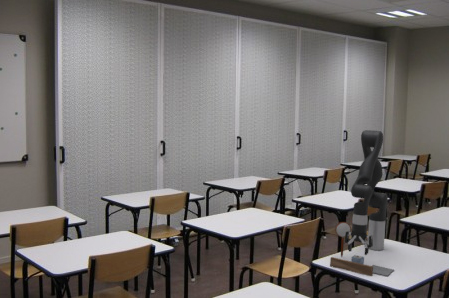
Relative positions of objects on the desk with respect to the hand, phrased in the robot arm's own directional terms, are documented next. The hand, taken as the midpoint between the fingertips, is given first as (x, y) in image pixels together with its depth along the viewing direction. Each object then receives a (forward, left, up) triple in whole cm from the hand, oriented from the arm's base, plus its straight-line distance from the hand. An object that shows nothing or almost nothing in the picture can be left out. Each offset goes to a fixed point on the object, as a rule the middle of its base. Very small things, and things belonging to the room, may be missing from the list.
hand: (357, 252), depth 257 cm
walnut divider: (+9, 0, -7) cm, 11 cm away
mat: (0, +12, -7) cm, 14 cm away
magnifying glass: (-8, -12, -7) cm, 16 cm away
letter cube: (0, 0, -7) cm, 7 cm away
